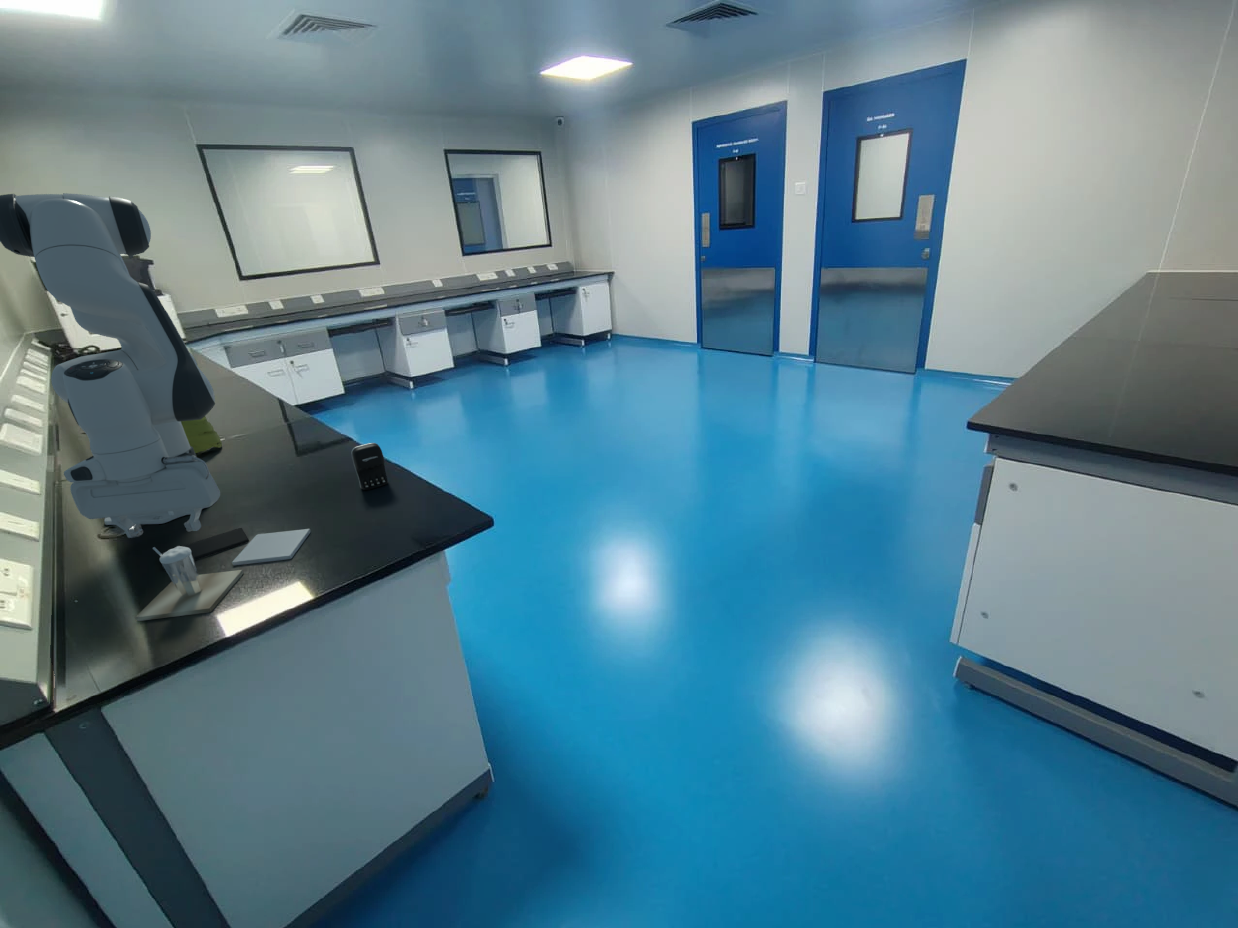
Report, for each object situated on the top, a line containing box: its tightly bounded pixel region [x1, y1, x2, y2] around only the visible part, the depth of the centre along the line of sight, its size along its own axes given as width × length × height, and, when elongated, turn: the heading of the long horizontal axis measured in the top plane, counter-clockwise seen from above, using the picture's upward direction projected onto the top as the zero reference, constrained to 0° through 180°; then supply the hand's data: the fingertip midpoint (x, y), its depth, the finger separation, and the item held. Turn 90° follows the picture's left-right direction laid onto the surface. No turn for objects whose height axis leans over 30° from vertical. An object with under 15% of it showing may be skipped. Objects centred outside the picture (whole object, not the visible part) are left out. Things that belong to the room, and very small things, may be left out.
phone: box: [158, 527, 250, 571], centre depth 116 cm, size 8×1×15 cm
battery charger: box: [351, 442, 389, 491], centre depth 139 cm, size 7×4×11 cm, turn 127°
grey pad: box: [231, 528, 312, 566], centre depth 115 cm, size 11×11×1 cm
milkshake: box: [152, 545, 202, 598], centre depth 98 cm, size 4×5×10 cm
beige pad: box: [134, 569, 244, 622], centre depth 101 cm, size 12×12×1 cm
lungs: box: [181, 416, 223, 455], centre depth 169 cm, size 25×16×24 cm, turn 47°
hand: (165, 532), depth 95 cm, fingers open, 8 cm apart
